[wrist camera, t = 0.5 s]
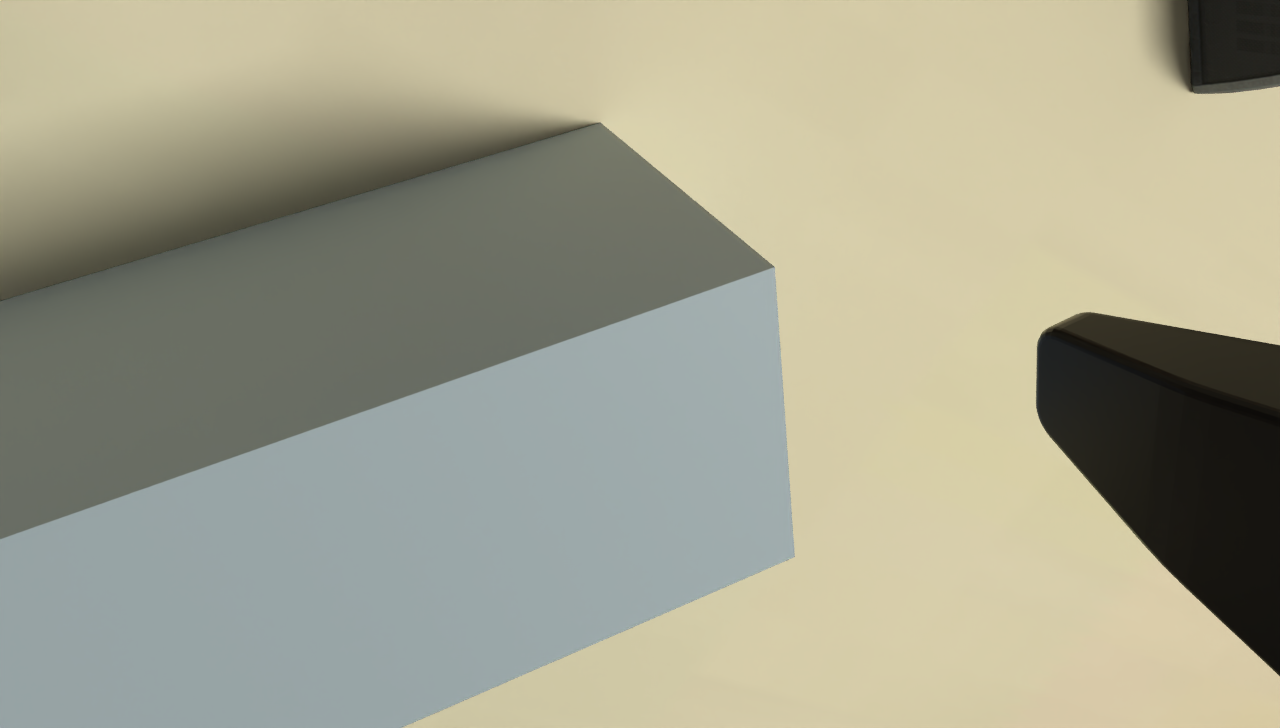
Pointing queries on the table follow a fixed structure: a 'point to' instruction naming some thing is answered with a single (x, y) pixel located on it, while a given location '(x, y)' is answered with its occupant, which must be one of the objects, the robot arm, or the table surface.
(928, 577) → the table surface
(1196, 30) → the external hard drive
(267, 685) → the block
